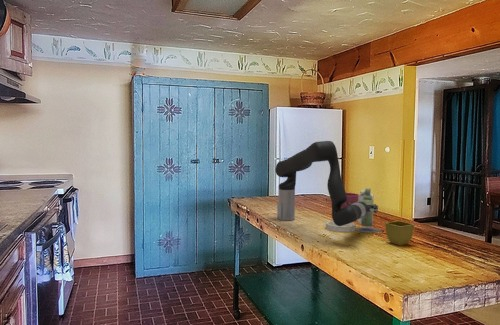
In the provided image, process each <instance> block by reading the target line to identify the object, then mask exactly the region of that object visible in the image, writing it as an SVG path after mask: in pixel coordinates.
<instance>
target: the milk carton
mask: <svg viewBox="0 0 500 325" xmlns="http://www.w3.org/2000/svg"><path fill="white" fill-rule="evenodd" d="M366 189H368V187H366V188H365V189H364V190H363V189H362V190H361V191H360V192H359V193H360V194H359V196H358V202H359V201H361V202H362V199H364V195H365V192H366ZM370 195H371V196H372V199H373V200H374V194H373V193H372V192H371V193H370ZM357 223H359V224H361V218H360V219H357Z"/></svg>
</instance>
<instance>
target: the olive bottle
mask: <svg viewBox="0 0 500 325" xmlns="http://www.w3.org/2000/svg"><path fill="white" fill-rule="evenodd" d="M365 189H366V188H365ZM370 193H372V192H371V188H367V189H366V192H365V195H364V199H362V202H364V203H365V204H367V205H368V204H370V205H373V204H374V198H373V199H372V196H371V195H370ZM373 224H374V212H373V211H371V212H368V213H367V215H366V216H364V217H362V218H361V223H360V226H361V227H373Z"/></svg>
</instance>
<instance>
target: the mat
mask: <svg viewBox="0 0 500 325" xmlns="http://www.w3.org/2000/svg"><path fill="white" fill-rule="evenodd" d="M355 231H358V232H360V233H363V234H366V233H367V234H370V233H382V232H384V231H383V230H381V229H378V228H375V227H373V226H358V227H357V226H356V229H355Z"/></svg>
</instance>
